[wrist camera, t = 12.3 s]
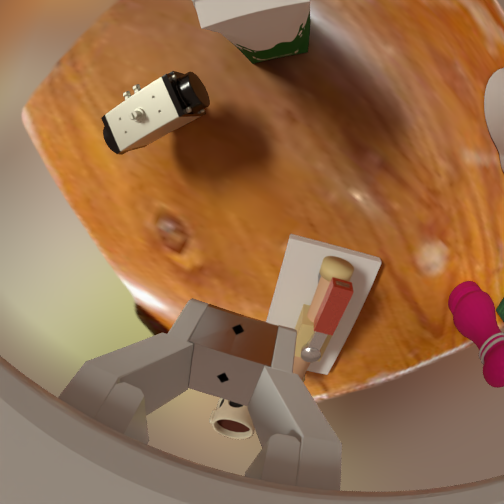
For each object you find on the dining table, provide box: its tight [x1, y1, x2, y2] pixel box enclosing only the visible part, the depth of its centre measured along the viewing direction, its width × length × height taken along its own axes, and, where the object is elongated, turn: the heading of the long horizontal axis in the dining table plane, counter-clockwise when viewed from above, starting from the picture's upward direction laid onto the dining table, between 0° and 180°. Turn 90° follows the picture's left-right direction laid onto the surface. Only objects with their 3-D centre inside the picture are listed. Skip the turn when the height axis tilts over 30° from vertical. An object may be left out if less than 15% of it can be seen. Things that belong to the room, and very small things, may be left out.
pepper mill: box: [448, 281, 504, 387], centre depth 30 cm, size 7×7×20 cm
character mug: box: [209, 398, 255, 439], centre depth 48 cm, size 11×7×13 cm, turn 119°
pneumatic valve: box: [102, 71, 210, 154], centre depth 30 cm, size 6×12×12 cm, turn 113°
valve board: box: [266, 234, 382, 382], centre depth 41 cm, size 13×23×8 cm, turn 169°
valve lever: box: [301, 277, 354, 362], centre depth 34 cm, size 12×3×2 cm, turn 168°
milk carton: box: [192, 0, 310, 64], centre depth 20 cm, size 9×9×20 cm
